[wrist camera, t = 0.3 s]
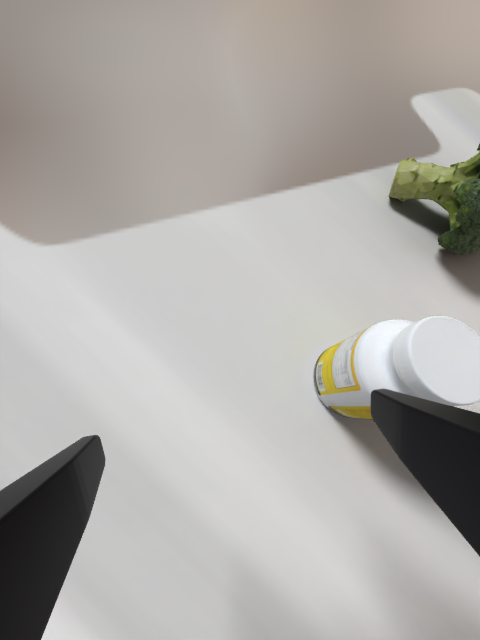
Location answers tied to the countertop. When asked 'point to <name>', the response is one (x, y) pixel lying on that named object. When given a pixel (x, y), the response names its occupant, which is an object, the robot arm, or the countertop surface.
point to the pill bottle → (401, 365)
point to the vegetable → (446, 197)
